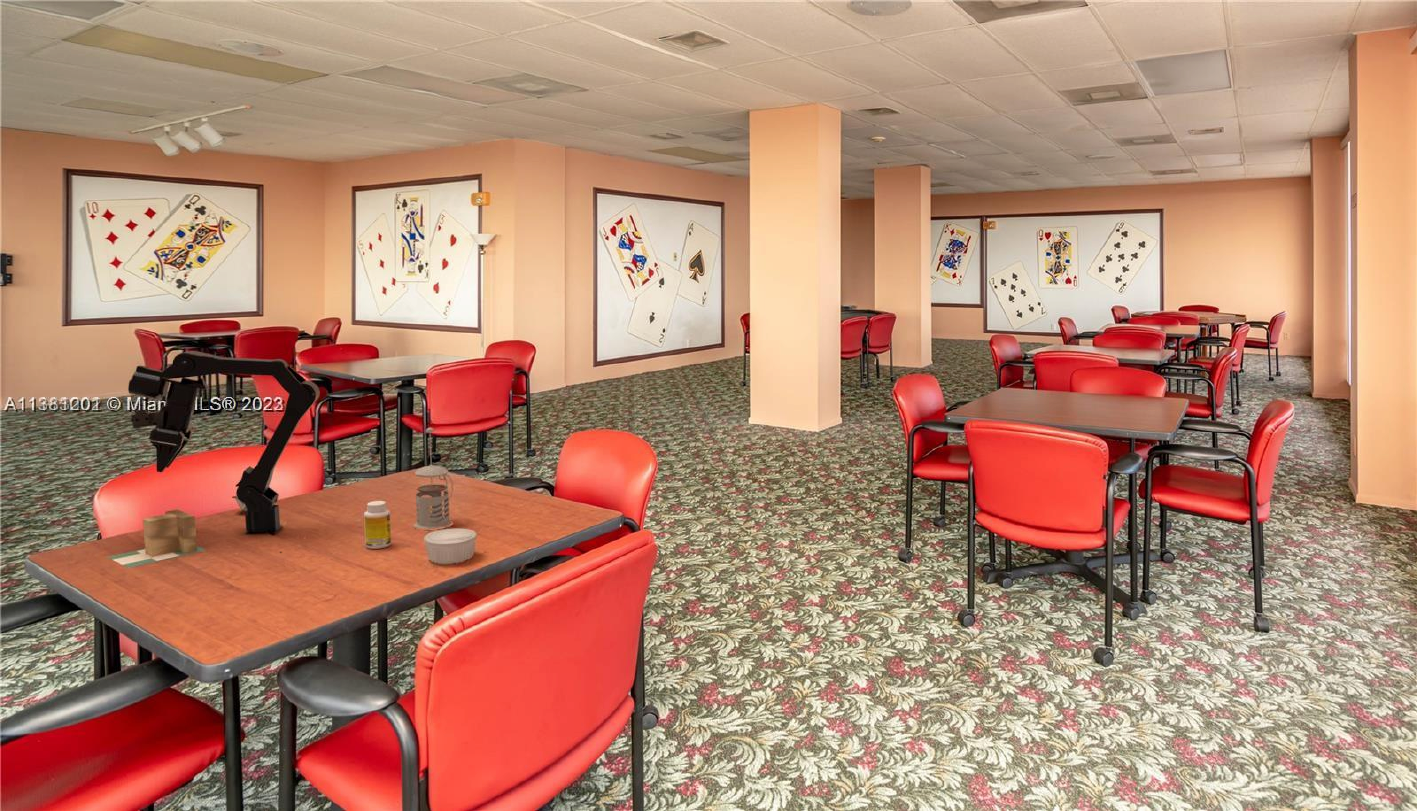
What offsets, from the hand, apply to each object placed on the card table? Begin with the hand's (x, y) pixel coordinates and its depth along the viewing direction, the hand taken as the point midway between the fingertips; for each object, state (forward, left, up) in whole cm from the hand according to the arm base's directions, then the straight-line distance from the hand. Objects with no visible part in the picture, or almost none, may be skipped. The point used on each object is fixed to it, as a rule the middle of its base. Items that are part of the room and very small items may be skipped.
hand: (162, 469), depth 194 cm
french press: (-59, -7, -17) cm, 62 cm away
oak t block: (-4, +10, -17) cm, 20 cm away
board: (-3, +11, -17) cm, 21 cm away
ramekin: (-67, +21, -17) cm, 73 cm away
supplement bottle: (-49, +10, -17) cm, 53 cm away
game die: (-9, -25, -17) cm, 32 cm away
